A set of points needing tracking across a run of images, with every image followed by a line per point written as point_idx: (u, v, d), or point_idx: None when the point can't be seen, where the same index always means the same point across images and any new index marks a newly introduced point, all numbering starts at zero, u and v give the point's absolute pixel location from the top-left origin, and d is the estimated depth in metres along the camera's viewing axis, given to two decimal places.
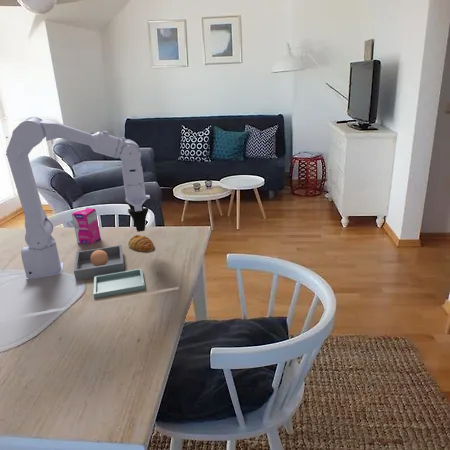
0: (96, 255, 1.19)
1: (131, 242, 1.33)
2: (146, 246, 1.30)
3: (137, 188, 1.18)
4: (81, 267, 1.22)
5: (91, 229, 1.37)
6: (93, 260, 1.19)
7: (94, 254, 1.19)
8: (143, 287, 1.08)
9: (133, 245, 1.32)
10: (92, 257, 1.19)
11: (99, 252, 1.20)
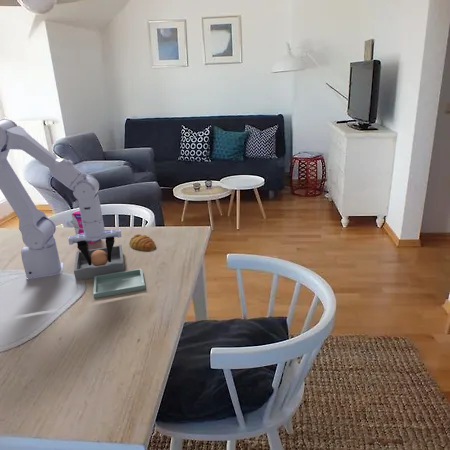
0: (96, 255, 1.19)
1: (132, 241, 1.33)
2: (147, 245, 1.31)
3: (83, 224, 1.16)
4: (81, 267, 1.22)
5: None
6: (93, 260, 1.19)
7: (94, 254, 1.19)
8: (143, 287, 1.08)
9: (134, 244, 1.32)
10: (92, 257, 1.19)
11: (99, 252, 1.20)
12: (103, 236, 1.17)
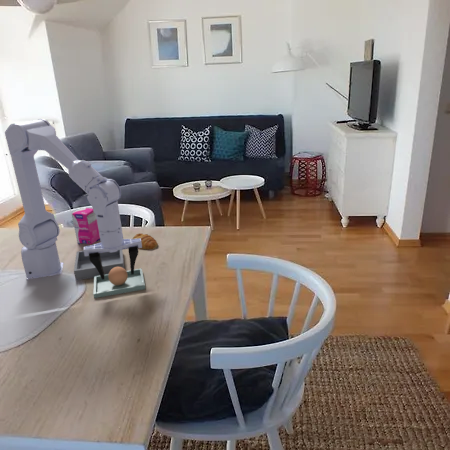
0: (115, 273, 1.08)
1: None
2: (150, 244, 1.32)
3: (100, 234, 1.04)
4: (81, 267, 1.22)
5: (91, 229, 1.37)
6: (112, 278, 1.08)
7: (113, 272, 1.08)
8: (143, 287, 1.08)
9: None
10: (111, 275, 1.08)
11: (118, 270, 1.09)
12: (122, 247, 1.05)
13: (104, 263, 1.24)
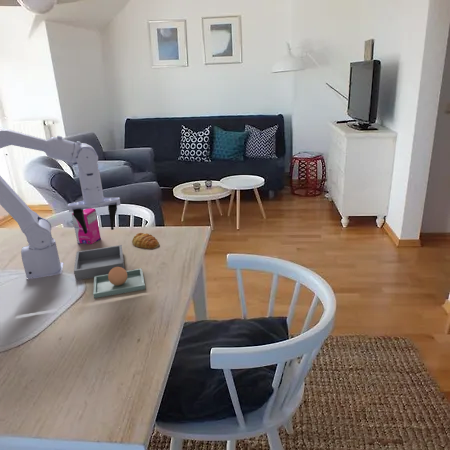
0: (115, 273, 1.08)
1: (135, 240, 1.34)
2: (151, 243, 1.32)
3: (82, 192, 1.18)
4: (81, 267, 1.22)
5: (91, 229, 1.37)
6: (112, 279, 1.08)
7: (112, 272, 1.08)
8: (143, 287, 1.08)
9: (138, 242, 1.33)
10: (110, 275, 1.08)
11: (117, 270, 1.09)
12: (102, 203, 1.19)
13: (104, 263, 1.24)
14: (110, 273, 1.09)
